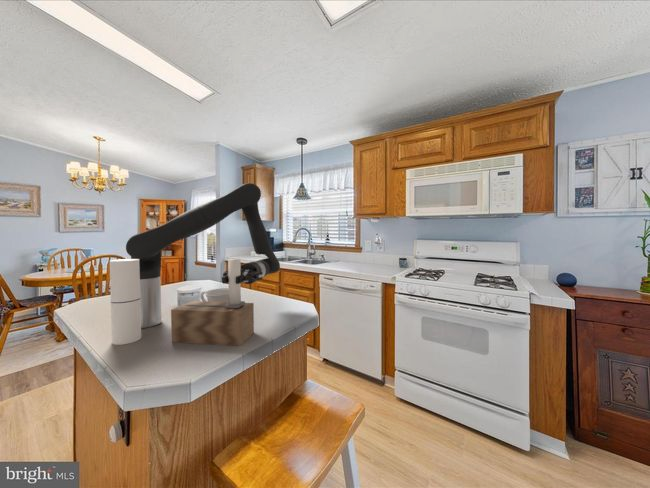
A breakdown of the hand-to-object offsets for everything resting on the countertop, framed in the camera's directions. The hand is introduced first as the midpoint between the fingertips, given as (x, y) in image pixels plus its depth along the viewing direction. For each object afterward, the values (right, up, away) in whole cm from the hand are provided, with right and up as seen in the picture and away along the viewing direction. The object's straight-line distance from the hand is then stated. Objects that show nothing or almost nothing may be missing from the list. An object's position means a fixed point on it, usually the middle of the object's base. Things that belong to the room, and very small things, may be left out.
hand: (230, 280), depth 76 cm
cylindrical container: (-33, -19, +2) cm, 38 cm away
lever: (0, -9, +3) cm, 9 cm away
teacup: (-15, -18, +25) cm, 34 cm away
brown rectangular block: (-7, -19, +4) cm, 20 cm away
